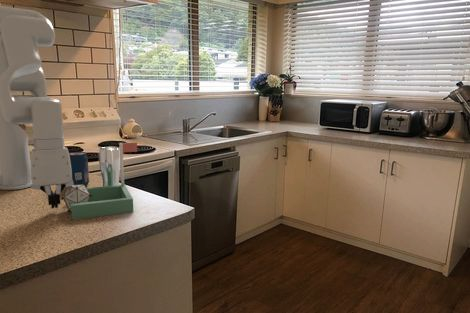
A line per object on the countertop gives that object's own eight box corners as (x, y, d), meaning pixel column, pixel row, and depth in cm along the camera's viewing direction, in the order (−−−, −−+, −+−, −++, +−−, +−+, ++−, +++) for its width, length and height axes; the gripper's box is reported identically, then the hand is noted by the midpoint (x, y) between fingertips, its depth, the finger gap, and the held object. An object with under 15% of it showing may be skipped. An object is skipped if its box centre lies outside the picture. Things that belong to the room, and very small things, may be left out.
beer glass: (109, 194, 122) (107, 150, 119) (96, 191, 126) (93, 148, 123) (126, 189, 128) (124, 147, 125) (112, 186, 132) (110, 145, 128)
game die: (81, 223, 107) (81, 203, 100) (54, 212, 107) (52, 191, 100) (97, 202, 113) (99, 181, 107) (72, 191, 113) (72, 170, 106)
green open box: (72, 219, 100) (67, 155, 96) (70, 201, 114) (66, 145, 111) (148, 210, 109) (146, 150, 105) (138, 194, 123) (136, 142, 119)
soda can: (68, 184, 133) (66, 151, 131) (89, 182, 136) (87, 150, 134) (68, 189, 127) (65, 155, 125) (89, 187, 130) (87, 154, 127)
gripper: (16, 147, 95) (23, 214, 99) (79, 144, 101) (83, 207, 105) (20, 143, 102) (26, 205, 105) (78, 140, 108) (82, 200, 111)
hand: (54, 206), depth 105 cm, fingers closed
